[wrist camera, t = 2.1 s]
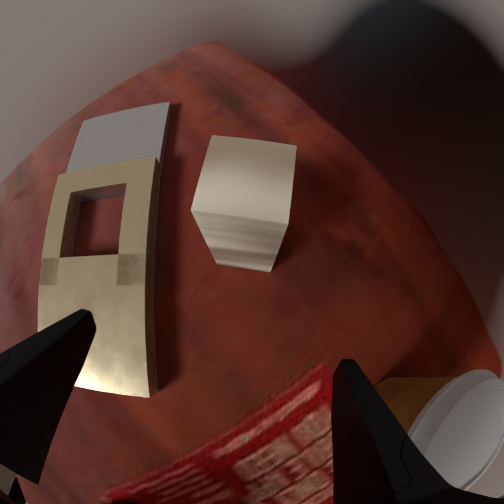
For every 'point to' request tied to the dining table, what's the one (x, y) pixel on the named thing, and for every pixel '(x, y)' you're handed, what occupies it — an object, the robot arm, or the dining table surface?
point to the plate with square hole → (110, 266)
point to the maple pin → (245, 200)
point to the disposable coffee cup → (451, 420)
